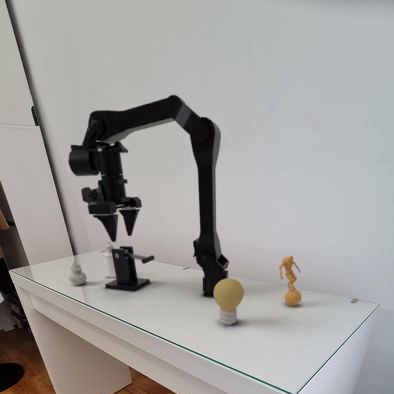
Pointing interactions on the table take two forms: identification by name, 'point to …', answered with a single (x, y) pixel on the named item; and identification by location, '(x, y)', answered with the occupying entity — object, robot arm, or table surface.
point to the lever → (139, 257)
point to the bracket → (125, 271)
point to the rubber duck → (77, 275)
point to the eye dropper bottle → (109, 261)
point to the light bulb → (228, 299)
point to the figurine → (293, 294)
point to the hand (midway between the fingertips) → (122, 238)
